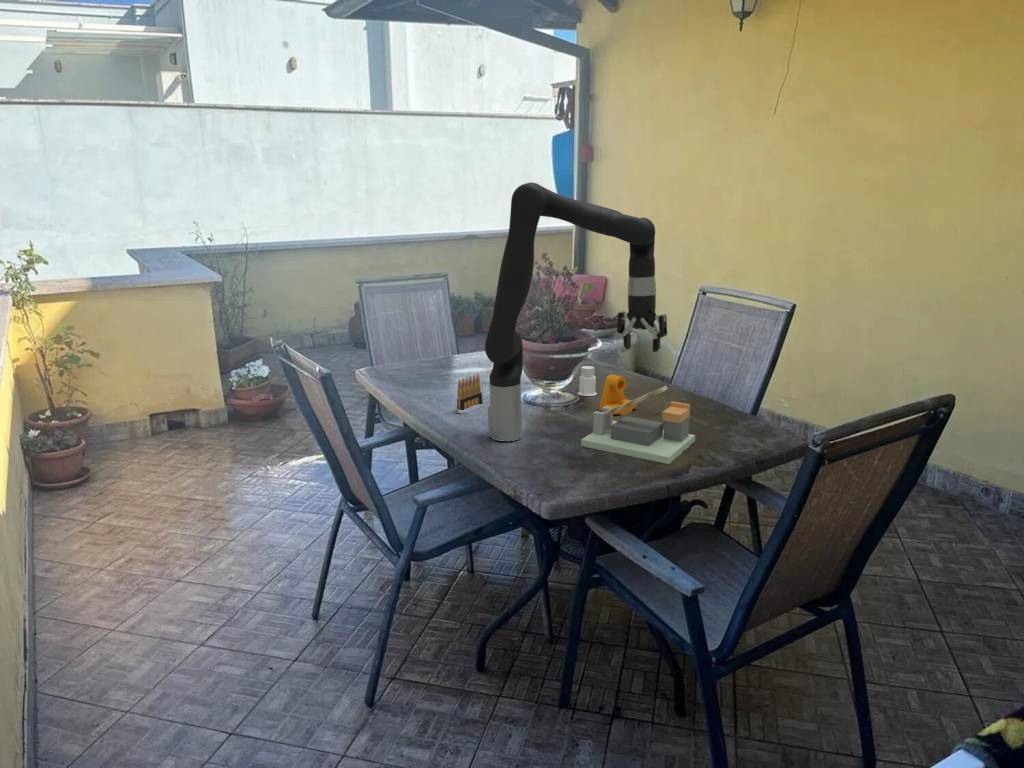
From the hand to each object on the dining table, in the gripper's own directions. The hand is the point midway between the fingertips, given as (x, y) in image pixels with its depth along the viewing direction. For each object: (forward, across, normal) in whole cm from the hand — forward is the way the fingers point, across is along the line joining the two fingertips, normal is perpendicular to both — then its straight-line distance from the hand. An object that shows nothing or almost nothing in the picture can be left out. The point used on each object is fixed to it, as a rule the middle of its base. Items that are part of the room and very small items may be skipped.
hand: (641, 350), depth 201 cm
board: (+28, -1, 0) cm, 29 cm away
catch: (+21, +8, +6) cm, 23 cm away
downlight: (+28, -40, +36) cm, 60 cm away
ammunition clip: (+27, -64, -2) cm, 69 cm away
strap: (+17, -3, 0) cm, 17 cm away
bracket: (+28, -21, +24) cm, 43 cm away
